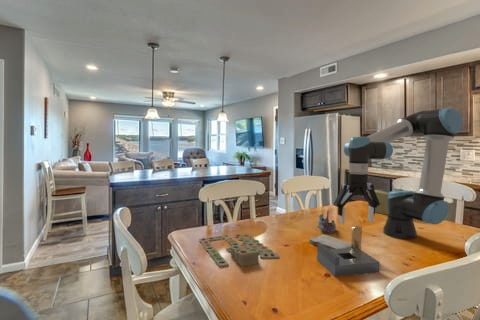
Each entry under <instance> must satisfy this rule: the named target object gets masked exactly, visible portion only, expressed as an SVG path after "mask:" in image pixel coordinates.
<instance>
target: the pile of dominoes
mask: <svg viewBox="0 0 480 320" xmlns="http://www.w3.org/2000/svg"><path fill="white" fill-rule="evenodd" d="M235 237H239V238H237V240H238V241H240V242H242V244H240V243H239V242H238V241H237V240H235V239H234V238H235ZM234 238H233V237H232V236H231V235H229V234H225V235H224V234H223V235H222V236H221V235H219V236H211V237H203V238H202V237H201V238H199V239H198V241H199V240H200V241H199V243H200V244H201V243H202V244H203V245H202V244H201V245H202V247H203V246H204V247H203V248H204V250H205V249H206V250H205V251H206V252H207V251H208V252H207V254H208V255H209V254H210V255H209V256H210V258H211V257H212V258H213V259H212V260H213V262H214V261H215V262H216V263H215V262H214V263H215V264H216V266H217V267H218V266H219V267H218V268H220V267H222V268H225V267H224V266H227V267H229V262H228V261H227V260H226V259H225V258H224V257H223V256H222V255H221V254H220V252H219V251H218V250H217V249H216V248H215V247H214V246H213V244H212V243H211V242H216V241H222V240H221V239H223V240H225V242H227V241H228V242H227V243H228V244H229V245H230V247H227V248H225V249H226V250H227V251H228V252H227V251H226V250H225V251H226V252H227V253H229V252H231V253H230V256H231V255H232V256H231V257H232V258H233V257H234V258H233V260H234V259H235V260H236V261H237V262H236V261H235V260H234V261H235V262H236V263H237V264H238V263H239V264H240V265H241V266H240V265H239V264H238V265H239V266H240V267H247V266H246V265H248V266H251V265H252V266H253V265H257V264H259V262H260V261H259V259H261V260H267V259H268V260H269V259H271V260H272V259H273V260H274V259H280V255H279V253H277V252H276V253H275V252H274V251H273V249H269V247H268V246H265V245H264V243H262V242H260V240H259V239H255V237H254V236H251V234H250V233H247V234H243V233H242V234H241V233H240V234H239V233H238V234H237V233H236V234H234ZM215 240H216V241H215ZM256 263H257V264H256Z"/></svg>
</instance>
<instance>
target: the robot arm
mask: <svg viewBox="0 0 480 320" xmlns="http://www.w3.org/2000/svg"><path fill="white" fill-rule="evenodd" d="M463 125H464V120H463V116H462V115H461V113H460V112H459V111H458V110H457V109H455V108H453V107H448V108H442V107H441V108H438V109H429V110H421V111H420V110H419V111H418V112H414V113H412V114H408V115H407V116H405V117H403V118H400V119H398V120H396V123H395V124H392V125H389V126H388V127H385V128H383V129H380V130H378V131H376V132H374V133H372V134H369V135H367V136H351V138H350V140H349V141H348V142H346V143H345V144H344V145H343V153H344V155H345V156H347V157H348V159H349V160H348V172H349V173H348V181H347V182H348V184H344V183H342V184H341V185H340V186H341V188H340V190H339V193H338V194H337V197H336V199H335V201H334V202H333V206H335V207H336V208H337V215H338V217H339V218H338V220H339V221H338V222H339V223H340V224H342V225H345V216H346V215H345V213H346V212H345V211H346V209H345V206H346V205H347V204H348V202H349V201H350V199H351V198H352V197H354V196H362V197H363V198H364V200H366V202H367V204H368V203H369V205H370V206H368V205H367V221H368V222H369V223H372V224H373V223H374V217H375V216H374V215H375V214H376V212H375V208H377V206H379V205H380V203H379V200H378V198H377V195H376V193H375V191H374V190H375V185H374V184H372V183H368V180H369V175H368V173H369V163H370V162H369V160H387V159H390V158H391V157H392V156H393V154H394V147H393V145H392V144H391V143H392V142H395V141H397V140H399V139H401V138H408V137H410V136H414V135H423V138H424V140H426V141H425V142H426V143H425V147H424V154H423V160H422V168H421V173H420V179H419V185H418V189H416V190H414V191H413V190H392V191H389V192H388V193H389V195H388V215H387V218H386V221H385V223H384V225H383V228H382V229H383V234H385V235H387V236H389V237H391V238H392V237H393V238H396V239H402V240H414V239H416V238H417V237H418V235H417V234H418V231H416V225H415V223H414V220H417V221H420V222H423V223H425V224H431V225H439V224H441V223H442V222H443V221H445V220H446V218H447V216H448V215H449V211H450V206H449V204H448V202H446V201H445V196H444V195H443V193H442V187H443V181H444V175H445V169H446V162H447V156H448V150H449V144H450V142H451V141H452V140H453V139H455V134H458V133H460V132H461V130H462V129H463ZM367 191H368V192H369V193H370V196H371V198H372V199H371V198H370V196H369V195H368V192H367Z"/></svg>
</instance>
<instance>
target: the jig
mask: <svg viewBox="0 0 480 320" xmlns="http://www.w3.org/2000/svg"><path fill="white" fill-rule="evenodd" d="M316 247H317V250H316V259H317V261H318V262H319V263H320V264H321V265H322V267H324V268H325V269H326V270H327V271H328V272H329V273H330V274H331V275H332V276H334V278H335V277H345V276H346V275H348V276H356V275H355V274H358V275H366V274H365V273H368V274H377V273H376V272H379V273H380V261H379V260H377V259H375V258H374V257H372V256H371V255H370V254H368V253H366V252H365V251H363V250H362V249H361V250H360V249H359V248H357V247H355V248H342V249H328V248H327V247H325V246H324V245H323V244H322V243H317V246H316Z"/></svg>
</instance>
